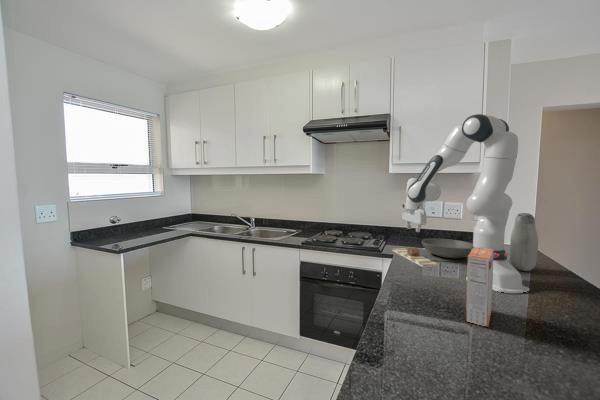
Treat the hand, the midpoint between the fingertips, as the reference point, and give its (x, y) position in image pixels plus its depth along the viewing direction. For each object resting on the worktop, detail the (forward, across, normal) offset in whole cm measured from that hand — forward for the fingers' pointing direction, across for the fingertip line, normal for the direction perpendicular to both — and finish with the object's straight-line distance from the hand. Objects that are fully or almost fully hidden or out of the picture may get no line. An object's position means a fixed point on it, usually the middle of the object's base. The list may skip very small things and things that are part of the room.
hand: (413, 230), depth 153 cm
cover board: (+15, 0, 0) cm, 15 cm away
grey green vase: (+15, -28, -42) cm, 52 cm away
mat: (+16, 0, 0) cm, 16 cm away
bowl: (+16, 0, -22) cm, 27 cm away
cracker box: (+15, -68, +15) cm, 71 cm away
